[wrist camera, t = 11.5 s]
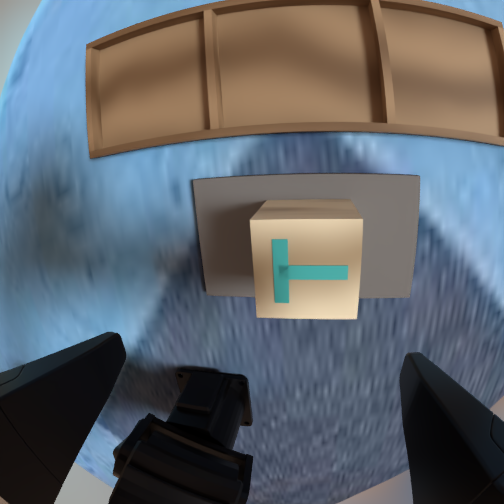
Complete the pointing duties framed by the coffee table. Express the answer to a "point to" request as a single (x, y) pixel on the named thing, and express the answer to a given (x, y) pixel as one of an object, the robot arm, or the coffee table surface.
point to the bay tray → (296, 73)
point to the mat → (309, 187)
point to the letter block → (307, 258)
